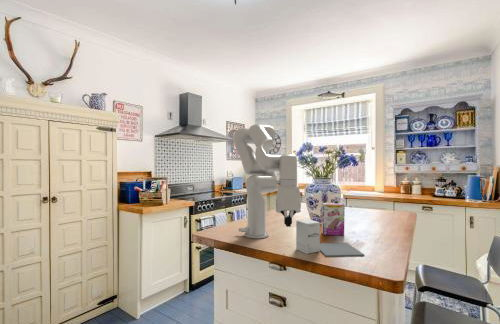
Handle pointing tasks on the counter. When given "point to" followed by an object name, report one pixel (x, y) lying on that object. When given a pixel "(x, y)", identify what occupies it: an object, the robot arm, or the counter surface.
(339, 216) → the candy bar box
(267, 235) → the robot arm
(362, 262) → the counter surface
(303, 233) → the supplement box
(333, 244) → the mat
